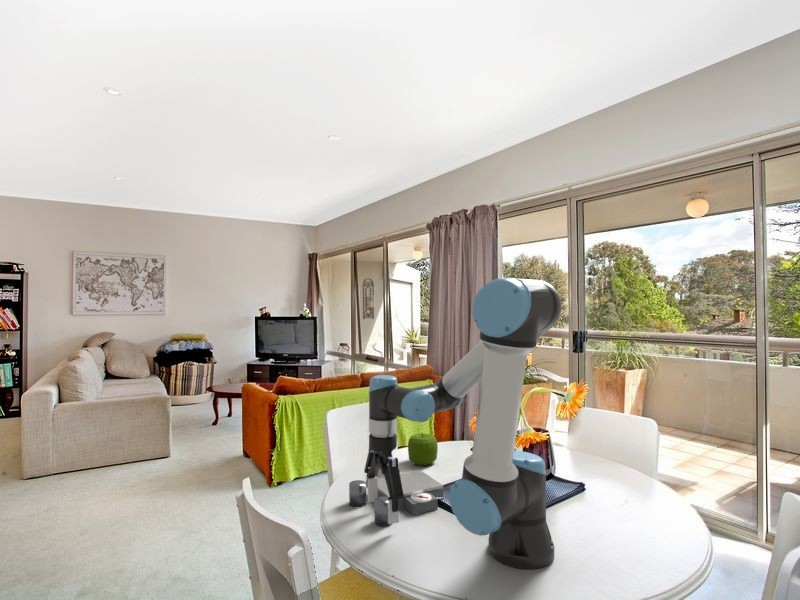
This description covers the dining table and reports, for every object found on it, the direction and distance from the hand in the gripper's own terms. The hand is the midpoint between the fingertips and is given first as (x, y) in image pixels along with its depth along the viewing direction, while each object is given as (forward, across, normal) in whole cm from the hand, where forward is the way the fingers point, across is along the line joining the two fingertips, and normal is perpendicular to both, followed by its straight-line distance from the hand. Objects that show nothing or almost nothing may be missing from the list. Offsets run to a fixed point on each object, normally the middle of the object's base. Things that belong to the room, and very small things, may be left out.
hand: (382, 511), depth 123 cm
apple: (+4, +34, -32) cm, 47 cm away
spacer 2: (+3, 0, 0) cm, 3 cm away
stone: (+4, +28, -13) cm, 31 cm away
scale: (+3, +9, -13) cm, 16 cm away
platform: (0, +12, -13) cm, 18 cm away
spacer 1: (+3, +14, +2) cm, 14 cm away
